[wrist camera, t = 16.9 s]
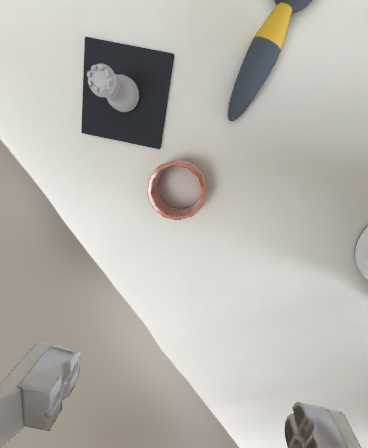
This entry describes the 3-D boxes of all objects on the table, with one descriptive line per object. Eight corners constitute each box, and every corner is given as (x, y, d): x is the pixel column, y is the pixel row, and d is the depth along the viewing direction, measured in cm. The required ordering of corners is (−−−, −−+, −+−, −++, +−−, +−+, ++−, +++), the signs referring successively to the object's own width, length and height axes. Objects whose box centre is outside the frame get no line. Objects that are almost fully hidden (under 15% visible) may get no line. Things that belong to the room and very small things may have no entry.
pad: (174, 55, 30) (173, 53, 29) (160, 148, 34) (159, 148, 33) (87, 38, 30) (84, 36, 30) (83, 133, 34) (81, 132, 34)
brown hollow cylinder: (210, 166, 34) (211, 168, 30) (199, 215, 36) (198, 224, 32) (159, 155, 34) (152, 156, 30) (151, 205, 37) (144, 213, 32)
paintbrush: (253, 131, 32) (261, 128, 27) (221, 118, 32) (223, 113, 27) (331, -48, 25) (360, -93, 20) (290, -64, 25) (309, -114, 20)
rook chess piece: (105, 80, 31) (72, 59, 23) (135, 73, 30) (111, 48, 23) (113, 115, 32) (85, 105, 25) (143, 109, 32) (123, 96, 24)
